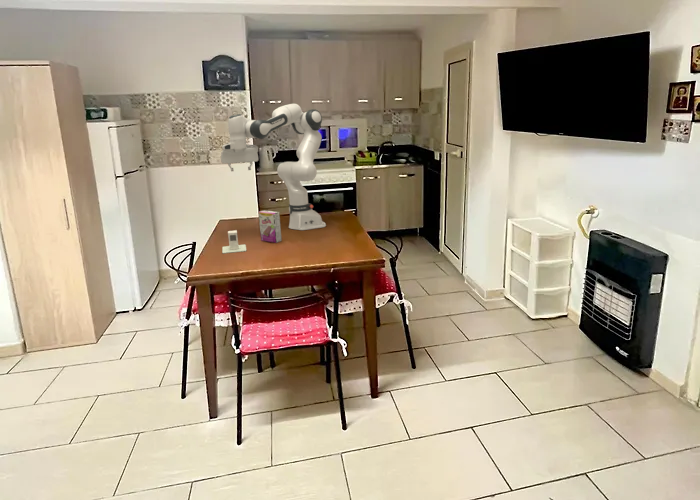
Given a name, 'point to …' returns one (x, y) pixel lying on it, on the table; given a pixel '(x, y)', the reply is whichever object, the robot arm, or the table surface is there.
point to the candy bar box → (270, 226)
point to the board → (227, 250)
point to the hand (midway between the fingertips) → (241, 170)
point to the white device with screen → (233, 240)
